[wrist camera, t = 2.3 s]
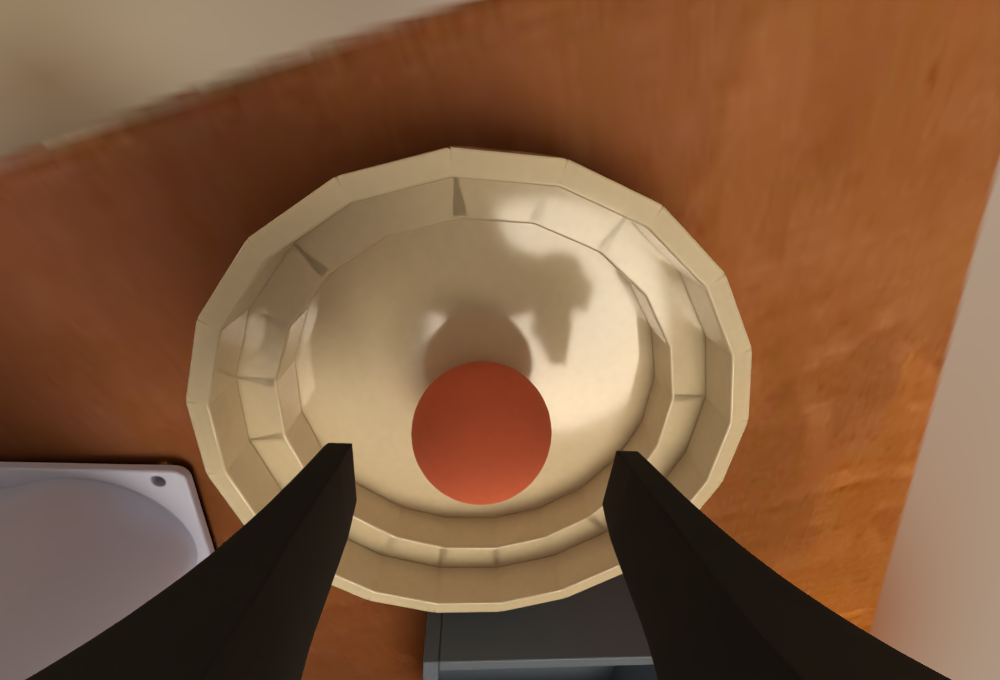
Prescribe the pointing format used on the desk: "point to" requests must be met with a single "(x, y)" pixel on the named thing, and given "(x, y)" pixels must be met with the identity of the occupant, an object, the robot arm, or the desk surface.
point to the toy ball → (481, 433)
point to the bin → (543, 640)
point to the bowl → (462, 339)
